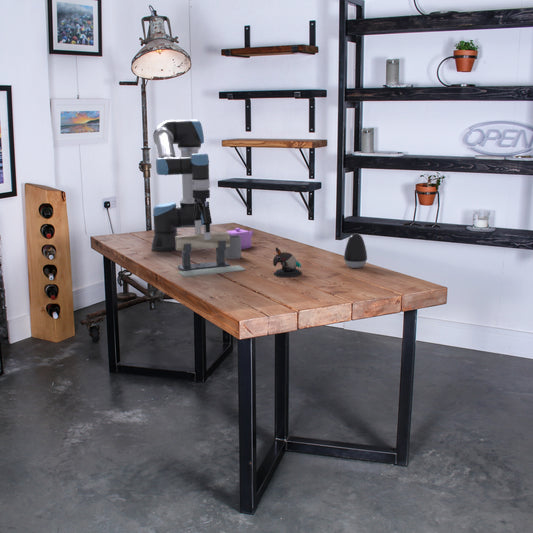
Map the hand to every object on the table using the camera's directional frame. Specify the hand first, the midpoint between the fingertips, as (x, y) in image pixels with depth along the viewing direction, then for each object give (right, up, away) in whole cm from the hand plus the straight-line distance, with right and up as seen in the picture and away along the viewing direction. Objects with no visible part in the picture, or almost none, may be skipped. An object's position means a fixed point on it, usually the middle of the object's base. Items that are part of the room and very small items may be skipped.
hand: (202, 237), depth 285 cm
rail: (0, -5, +1) cm, 5 cm away
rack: (0, -14, +3) cm, 14 cm away
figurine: (+37, -17, -10) cm, 42 cm away
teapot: (+14, -3, +47) cm, 49 cm away
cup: (+12, -9, +24) cm, 28 cm away
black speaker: (+68, -13, +1) cm, 69 cm away
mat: (+4, -15, -4) cm, 17 cm away
